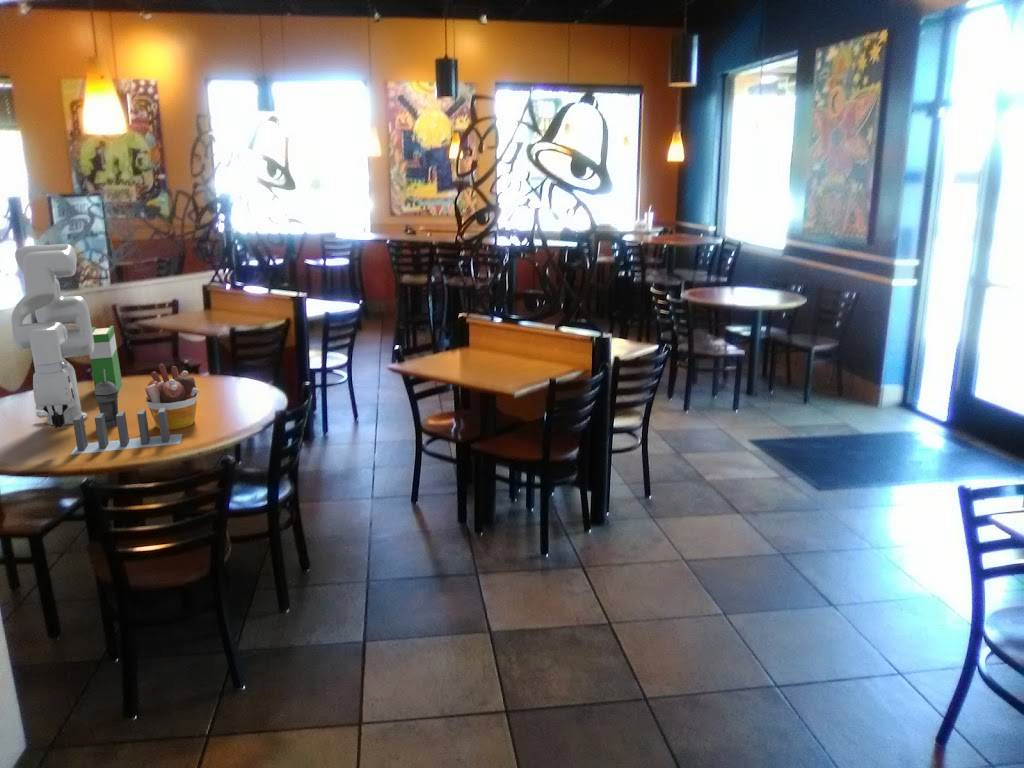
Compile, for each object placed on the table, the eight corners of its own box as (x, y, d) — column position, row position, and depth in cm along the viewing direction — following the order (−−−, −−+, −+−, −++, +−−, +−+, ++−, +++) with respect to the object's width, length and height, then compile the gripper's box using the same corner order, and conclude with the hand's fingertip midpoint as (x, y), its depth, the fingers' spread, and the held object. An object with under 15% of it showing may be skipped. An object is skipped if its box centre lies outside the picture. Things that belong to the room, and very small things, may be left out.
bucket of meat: (208, 428, 271) (201, 370, 266) (155, 438, 262) (147, 378, 257) (193, 414, 287) (186, 359, 282) (143, 422, 279) (135, 366, 273)
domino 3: (120, 447, 253) (115, 416, 250) (123, 441, 258) (118, 411, 255) (126, 446, 254) (122, 415, 251) (129, 441, 258) (124, 411, 256)
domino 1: (77, 451, 250) (72, 420, 247) (81, 446, 255) (76, 415, 252) (84, 450, 250) (79, 419, 248) (87, 445, 255) (82, 414, 252)
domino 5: (162, 442, 256) (157, 412, 254) (164, 437, 261) (159, 407, 258) (168, 442, 257) (164, 411, 254) (170, 437, 261) (166, 407, 259)
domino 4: (141, 444, 255) (137, 414, 252) (143, 439, 259) (139, 409, 257) (147, 444, 255) (143, 413, 252) (149, 439, 260) (145, 409, 257)
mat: (70, 456, 247) (70, 454, 247) (77, 445, 257) (77, 444, 256) (179, 445, 255) (179, 443, 255) (183, 435, 265) (182, 433, 265)
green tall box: (101, 386, 327) (92, 327, 321) (122, 384, 329) (113, 325, 323) (96, 397, 311) (86, 335, 305) (117, 395, 313) (108, 333, 307)
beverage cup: (116, 421, 281) (108, 364, 276) (127, 425, 276) (118, 367, 271) (95, 426, 276) (86, 369, 270) (105, 430, 271) (96, 372, 266)
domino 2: (99, 449, 251) (94, 418, 249) (102, 444, 256) (97, 413, 253) (105, 448, 252) (100, 417, 249) (108, 443, 257) (104, 412, 254)
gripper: (79, 363, 250) (88, 420, 254) (25, 367, 246) (35, 425, 251) (73, 369, 243) (83, 427, 247) (17, 373, 239) (28, 432, 244)
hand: (59, 426), depth 249 cm, fingers closed
